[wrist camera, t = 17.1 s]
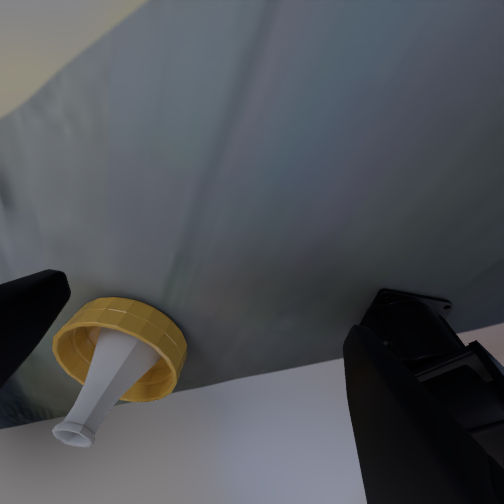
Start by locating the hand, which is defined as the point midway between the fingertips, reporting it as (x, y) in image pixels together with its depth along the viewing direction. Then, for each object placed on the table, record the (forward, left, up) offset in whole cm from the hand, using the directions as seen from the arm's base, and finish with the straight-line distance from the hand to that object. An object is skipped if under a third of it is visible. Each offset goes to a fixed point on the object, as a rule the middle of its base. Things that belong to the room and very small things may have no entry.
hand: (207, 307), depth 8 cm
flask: (+11, +20, -13) cm, 26 cm away
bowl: (+11, +20, -13) cm, 26 cm away
